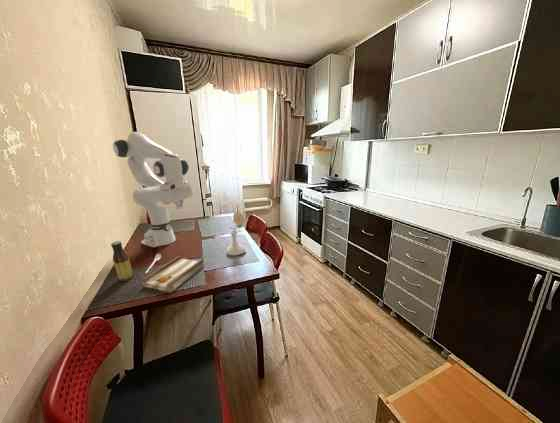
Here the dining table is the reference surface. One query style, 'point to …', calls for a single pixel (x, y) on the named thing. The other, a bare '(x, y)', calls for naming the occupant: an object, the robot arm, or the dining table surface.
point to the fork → (154, 262)
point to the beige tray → (172, 274)
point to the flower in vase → (235, 247)
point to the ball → (164, 278)
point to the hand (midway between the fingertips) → (180, 208)
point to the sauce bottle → (121, 262)
